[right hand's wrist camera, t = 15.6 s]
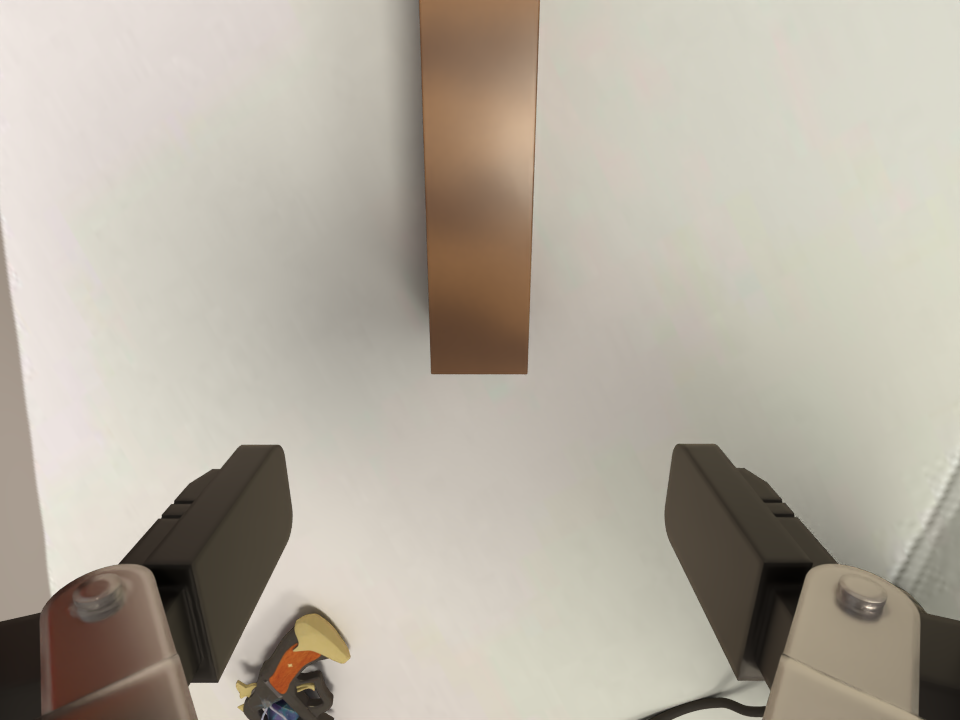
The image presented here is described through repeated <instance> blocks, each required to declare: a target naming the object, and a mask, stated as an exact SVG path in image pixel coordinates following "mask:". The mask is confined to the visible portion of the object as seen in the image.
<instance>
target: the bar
mask: <svg viewBox="0 0 960 720" xmlns="http://www.w3.org/2000/svg"><path fill="white" fill-rule="evenodd" d="M539 11H540V0H419V14H420V45H421V76H422V107H423V138H424V169H425V200H426V231H427V262H428V293H429V324H430V355H431V374H527V372H528V342H529V312H530V282H531V252H532V222H533V192H534V161H535V131H536V101H537V71H538V41H539Z"/></svg>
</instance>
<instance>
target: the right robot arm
mask: <svg viewBox="0 0 960 720" xmlns="http://www.w3.org/2000/svg"><path fill="white" fill-rule="evenodd" d="M292 517H293V514H292V504H291V497H290V490H289V482H288V475H287V468H286V461H285V455H284V451H283V449H282V447H281V446H280V445H241V446H239V447H238V448H237V449H236V451H235V452H234V453H233V454H232V456H231V457H230V458H229V459H228V460H227V462H226V463H225V464H224V465H223V466H222V468H221V469H212V470H210V471H209V472H207V473H206V474H204V475H202V476H201V477H199V478H198V479H196V480H194V481H193V482H191V483H190V484H189V485H188V486H187V487H186V488H185V489H184V490H183V491H182V493H181V494H180V495H179V496H178V497H177V498H176V499H175V501H174V504H171V505H170V506H169V507H168V508H167V510H166V511H165V512H164V513H163V514H162V518H161V519H158V520H157V521H156V522H155V523H154V524H153V525H152V527H151V528H150V529H149V530H148V531H147V532H146V533H145V535H144V536H143V537H142V538H141V539H140V540H139V541H138V543H137V544H136V545H135V546H134V547H133V548H132V549H131V550H130V552H129V553H128V554H127V555H126V556H125V557H124V558H123V560H122V561H121V562H120V563H119V564H118V565H113V566H108V567H104V568H101V569H98V570H95V571H92V572H90V573H87V574H85V575H83V576H81V577H79V578H77V579H75V580H74V581H72V582H70V583H69V584H67V585H66V586H64V587H63V588H62V589H60V590H59V591H58V592H57V593H56V594H54V595H53V596H52V597H51V599H50V600H49V601H48V602H47V603H46V605H45V606H44V608H43V610H42V612H41V613H37V614H33V615H29V616H24V617H19V618H15V619H11V620H6V621H1V622H0V720H198V718H197V715H196V712H195V708H194V705H193V701H192V698H191V695H190V691H189V688H188V686H189V684H190V683H218V682H219V680H220V677H221V675H222V673H223V671H224V669H225V667H226V665H227V663H228V661H229V659H230V657H231V655H232V653H233V651H234V649H235V647H236V645H237V643H238V641H239V639H240V637H241V635H242V633H243V631H244V629H245V627H246V625H247V623H248V621H249V619H250V617H251V615H252V613H253V611H254V609H255V607H256V605H257V603H258V601H259V599H260V597H261V595H262V593H263V591H264V589H265V587H266V585H267V583H268V581H269V579H270V577H271V575H272V573H273V571H274V568H275V566H276V564H277V562H278V560H279V558H280V556H281V554H282V552H283V550H284V548H285V546H286V544H287V542H288V540H289V537H290V533H291V528H292ZM665 526H666V531H667V535H668V538H669V541H670V543H671V545H672V547H673V549H674V551H675V553H676V555H677V557H678V559H679V561H680V563H681V565H682V567H683V569H684V572H685V574H686V576H687V578H688V580H689V582H690V584H691V586H692V588H693V590H694V592H695V594H696V596H697V598H698V600H699V602H700V604H701V606H702V608H703V610H704V612H705V614H706V616H707V619H708V621H709V623H710V625H711V627H712V629H713V631H714V633H715V635H716V637H717V639H718V641H719V643H720V645H721V647H722V649H723V651H724V653H725V655H726V657H727V659H728V661H729V663H730V666H731V668H732V670H733V672H734V674H735V676H736V678H737V680H738V681H766V683H767V685H768V687H769V689H770V695H769V698H768V701H767V705H766V706H760V707H753V706H745V705H742V704H740V703H738V702H735V701H733V700H731V699H727V698H707V699H701V700H696V701H692V702H689V703H685V704H682V705H680V706H677V707H674V708H672V709H669V710H667V711H665V712H663V713H661V714H659V715H657V716H655V717H653V718H651V719H649V720H672V719H674V718H676V717H679V716H681V715H684V714H687V713H690V712H693V711H697V710H702V709H708V708H728V709H730V710H733V711H735V712H737V713H739V714H742V715H745V716H750V717H763V718H762V720H960V621H958V620H953V619H949V618H944V617H940V616H935V615H931V614H927V613H926V612H925V611H924V609H923V608H922V607H921V605H920V604H919V603H918V602H917V601H916V600H915V599H914V598H913V597H912V596H911V595H910V594H909V593H907V592H906V591H904V590H902V589H900V588H898V587H896V586H894V585H893V584H891V583H890V582H888V581H886V580H885V579H883V578H881V577H879V576H877V575H875V574H873V573H870V572H868V571H865V570H862V569H859V568H856V567H852V566H847V565H841V564H838V563H837V562H836V561H835V560H834V559H833V558H832V556H831V555H830V554H829V553H828V552H827V551H826V549H825V548H824V547H823V546H822V545H821V544H820V543H819V541H818V540H817V539H816V538H815V537H814V536H813V535H812V533H811V532H810V531H809V530H808V529H807V528H806V527H805V525H804V524H803V523H802V522H801V521H800V520H799V519H798V517H794V513H793V512H792V511H791V509H790V508H789V507H788V506H787V505H786V504H785V503H782V499H781V498H780V497H779V496H778V494H777V493H776V492H775V491H774V490H773V489H772V488H771V486H770V485H769V484H768V483H767V482H765V481H764V480H762V479H761V478H759V477H757V476H756V475H754V474H753V473H751V472H749V471H748V470H746V469H745V468H736V467H735V466H734V465H733V464H732V462H731V461H730V460H729V459H728V457H727V456H726V455H725V454H724V453H723V451H722V450H721V449H720V448H719V447H718V446H717V445H716V444H677V445H676V446H675V448H674V450H673V454H672V461H671V468H670V475H669V482H668V490H667V497H666V504H665Z"/></svg>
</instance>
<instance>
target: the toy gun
mask: <svg viewBox="0 0 960 720" xmlns="http://www.w3.org/2000/svg"><path fill="white" fill-rule="evenodd" d="M350 657H351V656H350V653H349V649H348V647H347V646H346V644H345V642H344V641H343V640H342V638H341V637H340V635H339V634H338V633H337V631H336V630H335V628H334V627H333V626H332V625H331V624H330V623H329V622H328V621H327V620H325V619H324V618H323V617H321V616H320V615H318V614H307V615H304V616H303V617H301V618H299V619H298V620H297V621H296V623H295V626H294V627H293V628H292V629H291V630H290V631H289V632H288V633H287V634H286V636H285V637H284V638H283V639H282V641H281V642H280V644H279V645H278V647H277V648H276V650H275V652H274V653H273V655H272V657H271V658H270V659H269V660H267V661H265V662H264V664H263V667H262V668H261V671H260V674H259V678H258V681H257V682H256V683H252V684H249V685H246V684H244V683H242V682H241V681H239V680H238V681H237V683H236V688H237V690H238V691H239V693H240V698H243V697H245V696H247V698H246V700H245V703H244V704H242V705H240V706H238V708H239V709H240V710H242V711H243V712H244V714H245V715H246V716H247V718H248V719H249V720H334V718H333V717H332V716H330V715H328V714H326V713H324V712H326V711H327V710H329V709H330V708H331V706H332V704H333V694H332V693H331V692H330V690H329V689H328V688H327V686H326V684H325V682H324V679H323V675H322V672H321V671H320V670H317V671H314V672H309V673H301V672H302V671H303V670H304V669H305V668H306V667H307V666H308V665H310V664H312V663H314V662H317V661H320V660H324V659H329V658H330V659H332V660H334V661H336V662H339V663H345V662H346V661H347V660H349V659H350ZM315 686H316V689H317V692H318V694H319V696H320V699H310V698H309V697H308V696H307V695H306V693H305V692H304V691H303V690H305V689H308V688H310V689H312V690H313V691H315ZM262 708H265V711H263V709H262ZM265 713H267V715H266V714H265Z"/></svg>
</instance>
